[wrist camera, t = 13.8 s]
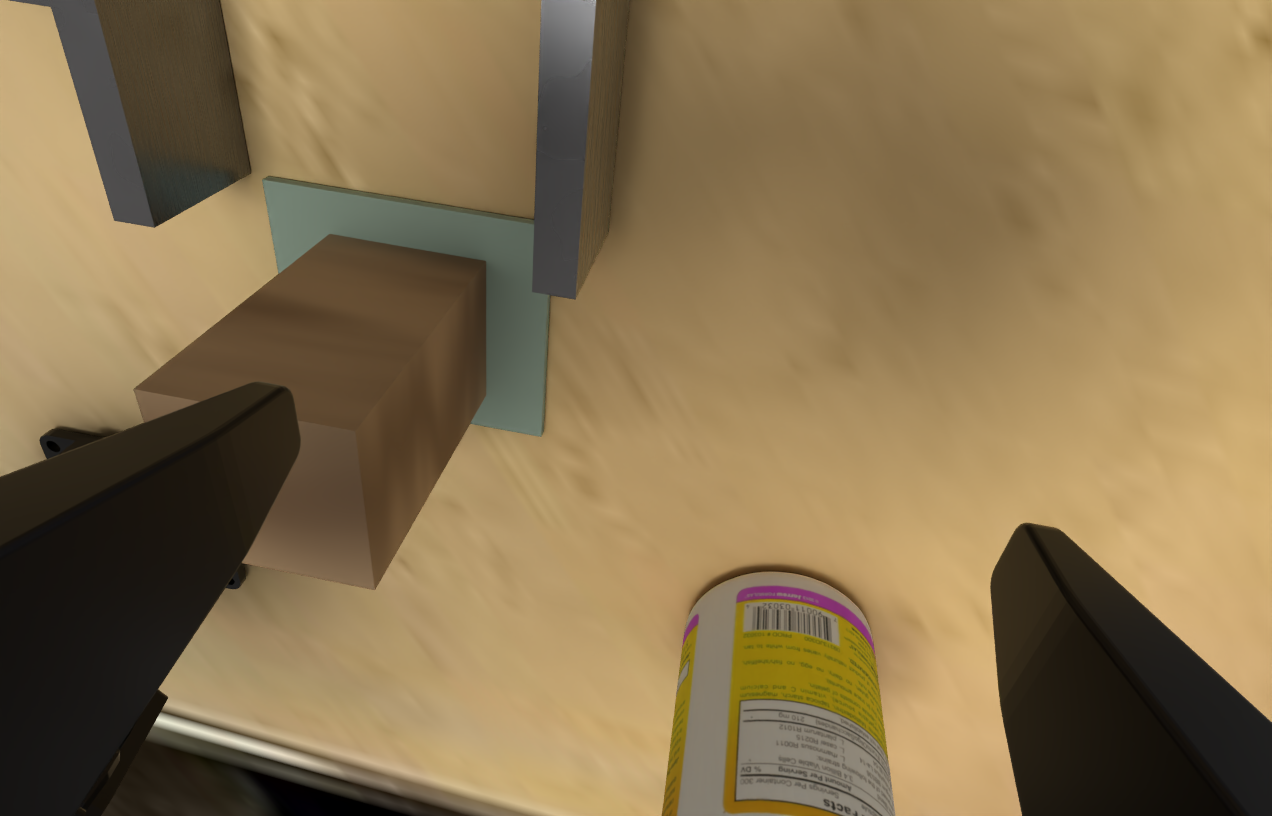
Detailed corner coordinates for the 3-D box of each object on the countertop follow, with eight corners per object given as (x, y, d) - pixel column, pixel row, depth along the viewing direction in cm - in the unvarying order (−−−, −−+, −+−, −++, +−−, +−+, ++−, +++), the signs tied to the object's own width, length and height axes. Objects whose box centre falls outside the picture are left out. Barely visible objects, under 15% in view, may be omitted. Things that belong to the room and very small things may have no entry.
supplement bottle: (754, 704, 31) (739, 1128, 21) (650, 604, 29) (572, 1026, 18) (909, 651, 28) (984, 1118, 17) (806, 534, 26) (821, 992, 15)
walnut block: (486, 395, 24) (375, 590, 17) (346, 369, 24) (185, 551, 18) (486, 261, 21) (355, 431, 15) (329, 233, 22) (133, 388, 15)
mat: (543, 431, 25) (541, 436, 25) (304, 387, 25) (299, 392, 25) (553, 223, 21) (550, 227, 21) (267, 176, 21) (262, 179, 21)
